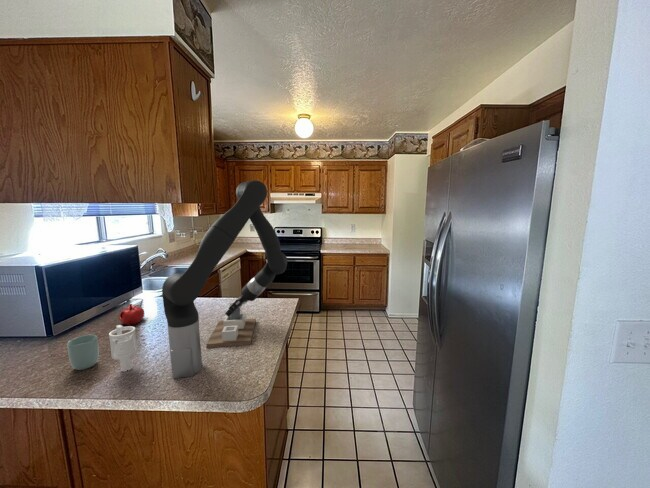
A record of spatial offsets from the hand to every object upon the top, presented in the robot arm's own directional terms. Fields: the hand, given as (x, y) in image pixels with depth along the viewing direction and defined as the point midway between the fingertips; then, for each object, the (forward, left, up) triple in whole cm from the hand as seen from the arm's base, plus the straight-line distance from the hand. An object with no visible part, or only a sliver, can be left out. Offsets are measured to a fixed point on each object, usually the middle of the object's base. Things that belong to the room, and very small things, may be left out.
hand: (232, 311), depth 121 cm
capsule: (0, -1, -7) cm, 7 cm away
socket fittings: (-6, -1, -7) cm, 9 cm away
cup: (-22, +46, -8) cm, 52 cm away
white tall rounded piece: (-26, +31, -8) cm, 41 cm away
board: (-5, -1, -8) cm, 10 cm away
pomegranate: (+16, +50, -8) cm, 53 cm away
